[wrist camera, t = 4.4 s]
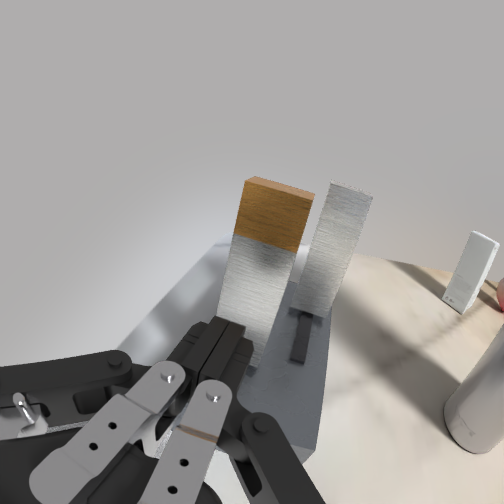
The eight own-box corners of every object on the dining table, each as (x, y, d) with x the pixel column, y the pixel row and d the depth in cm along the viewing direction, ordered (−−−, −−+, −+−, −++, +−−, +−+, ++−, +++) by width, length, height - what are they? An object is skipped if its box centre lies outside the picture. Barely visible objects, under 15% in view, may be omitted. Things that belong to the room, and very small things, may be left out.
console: (242, 294, 36) (250, 264, 34) (320, 320, 34) (333, 291, 32) (161, 425, 17) (161, 393, 16) (293, 473, 16) (317, 448, 14)
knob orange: (219, 333, 22) (255, 176, 17) (264, 350, 21) (314, 193, 16) (209, 349, 20) (245, 180, 15) (257, 367, 19) (312, 200, 14)
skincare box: (461, 315, 43) (497, 244, 37) (439, 299, 48) (471, 229, 41) (471, 306, 48) (501, 243, 42) (451, 292, 52) (479, 230, 46)
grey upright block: (293, 296, 29) (331, 179, 24) (326, 307, 29) (370, 193, 24) (290, 306, 27) (330, 182, 22) (325, 318, 27) (372, 197, 22)
